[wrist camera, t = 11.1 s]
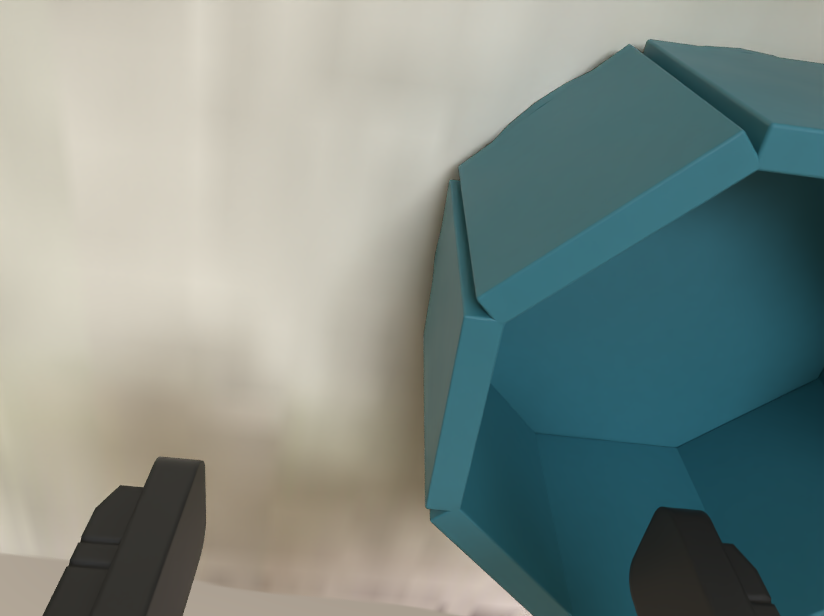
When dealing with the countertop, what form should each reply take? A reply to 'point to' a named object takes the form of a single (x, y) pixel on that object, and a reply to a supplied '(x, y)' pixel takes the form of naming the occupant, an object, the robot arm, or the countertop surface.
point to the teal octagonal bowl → (635, 328)
